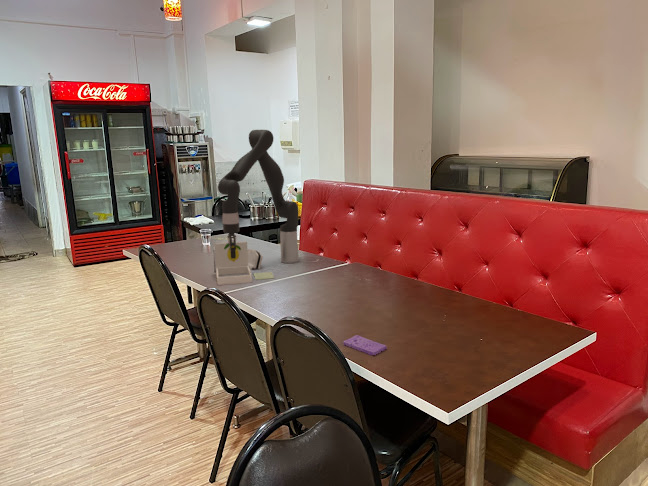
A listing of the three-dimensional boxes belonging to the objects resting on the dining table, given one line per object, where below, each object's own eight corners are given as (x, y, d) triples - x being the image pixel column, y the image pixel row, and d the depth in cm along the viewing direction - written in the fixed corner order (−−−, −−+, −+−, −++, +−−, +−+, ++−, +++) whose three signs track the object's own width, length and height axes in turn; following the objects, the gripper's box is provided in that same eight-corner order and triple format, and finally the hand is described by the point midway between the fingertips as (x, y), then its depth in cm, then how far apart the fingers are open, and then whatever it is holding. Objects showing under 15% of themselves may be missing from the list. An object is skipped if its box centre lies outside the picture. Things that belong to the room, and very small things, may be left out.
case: (248, 271, 250) (246, 241, 246) (252, 282, 230) (250, 250, 227) (214, 274, 246) (212, 243, 243) (215, 285, 226) (213, 252, 223)
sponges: (356, 340, 163) (356, 334, 163) (387, 350, 155) (387, 345, 154) (342, 346, 158) (342, 341, 158) (373, 357, 150) (373, 352, 149)
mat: (271, 272, 246) (271, 271, 246) (274, 278, 236) (274, 277, 236) (253, 274, 244) (253, 273, 244) (255, 280, 234) (255, 279, 234)
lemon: (224, 263, 233) (223, 242, 231) (228, 260, 238) (227, 240, 236) (238, 263, 232) (237, 242, 230) (241, 260, 238) (240, 240, 235)
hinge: (239, 263, 266) (244, 246, 265) (246, 265, 268) (251, 248, 268) (251, 270, 252) (256, 251, 251) (259, 272, 254) (264, 253, 254)
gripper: (240, 224, 225) (242, 259, 229) (237, 219, 239) (239, 253, 242) (223, 225, 224) (225, 261, 227) (222, 220, 237) (224, 254, 241)
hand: (233, 256), depth 235 cm, fingers closed on lemon, 5 cm apart
